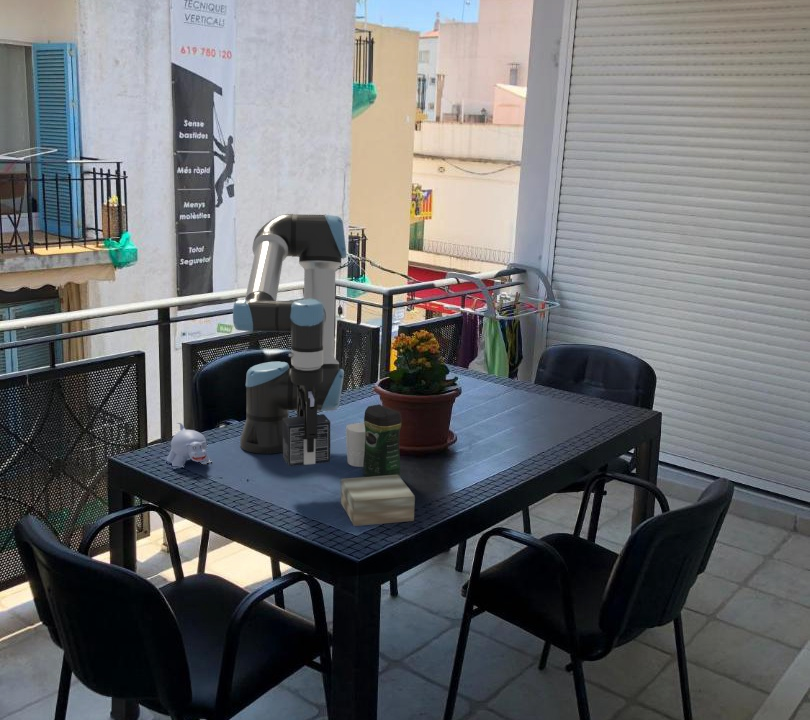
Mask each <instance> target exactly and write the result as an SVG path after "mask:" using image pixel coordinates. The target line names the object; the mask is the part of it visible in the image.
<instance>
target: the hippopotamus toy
mask: <svg viewBox="0 0 810 720" xmlns="http://www.w3.org/2000/svg"><path fill="white" fill-rule="evenodd" d="M176 424H179V430H180V431H178V432H177V433H175V434H174V436H173V437H172V438H171V442H170V448H171V450H170V451H169V454H168V455H167V458H166V459H167V461H173V462H172V465H173V466H182V465H184V466H185V464H186V462H187V460H188V459H190V460H192V461H193V462H197V463H198V462H201V463H204V462H205V463H208V462H212V463H213V461H212V460H211V459H210V457H209V455H208V454H207V451H206V449H207V447H208V443H207V439H206V437H205V436H204V435H203V434H202V433H201V432H199V431H196V430H194V429H186V427H185V426H184V425H183V423H181V422H176ZM210 460H211V461H210Z"/></svg>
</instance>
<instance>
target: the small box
mask: <svg viewBox="0 0 810 720" xmlns="http://www.w3.org/2000/svg"><path fill="white" fill-rule="evenodd" d="M317 435H318V438H317V439H316V450H315V464H325V463H330V462H331V461H332V459H331V420H330V419H329V418H328V417H327V415H325V414H324V413H323V414H322V413H321V414H317ZM302 437H305V430H304V416H299V417H297V416H290V417H288V418H283V452H282V458H283V461H284V462H285V464H286V465H287V466H288V467H296V466H305V465H304V439H303V440H302ZM315 464H314V465H315ZM307 465H308V466H309V464H307Z"/></svg>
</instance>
